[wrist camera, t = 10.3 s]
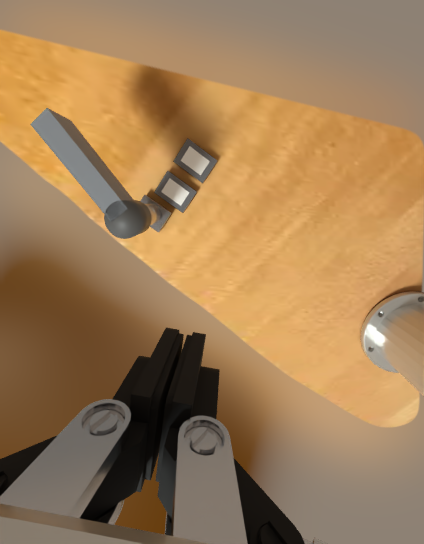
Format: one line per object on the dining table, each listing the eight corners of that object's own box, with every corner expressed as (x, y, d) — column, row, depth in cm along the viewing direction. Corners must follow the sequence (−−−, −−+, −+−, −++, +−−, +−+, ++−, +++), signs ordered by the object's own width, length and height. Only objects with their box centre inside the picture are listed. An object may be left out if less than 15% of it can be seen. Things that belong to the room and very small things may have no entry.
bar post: (172, 213, 35) (160, 216, 28) (159, 231, 35) (145, 239, 28) (146, 194, 34) (127, 193, 27) (134, 214, 35) (113, 217, 28)
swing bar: (76, 115, 25) (52, 102, 21) (158, 220, 27) (149, 223, 24) (51, 139, 25) (24, 129, 22) (133, 240, 28) (121, 245, 24)
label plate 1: (217, 161, 33) (217, 160, 32) (202, 183, 33) (202, 183, 33) (188, 139, 32) (187, 138, 32) (173, 162, 33) (173, 161, 32)
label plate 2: (197, 192, 34) (196, 191, 33) (183, 212, 34) (182, 213, 34) (168, 171, 33) (167, 170, 33) (155, 192, 34) (154, 192, 33)
